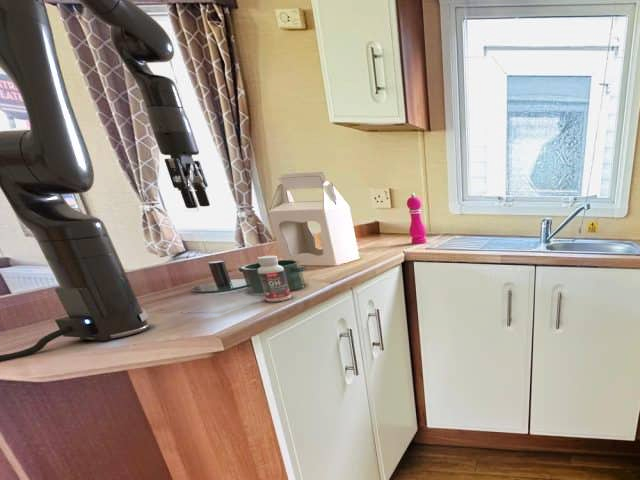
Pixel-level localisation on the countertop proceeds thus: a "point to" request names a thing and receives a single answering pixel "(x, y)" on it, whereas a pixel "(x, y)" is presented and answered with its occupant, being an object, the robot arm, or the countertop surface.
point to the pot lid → (220, 280)
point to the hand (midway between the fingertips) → (198, 207)
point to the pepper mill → (416, 221)
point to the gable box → (328, 213)
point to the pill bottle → (273, 279)
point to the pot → (290, 269)
